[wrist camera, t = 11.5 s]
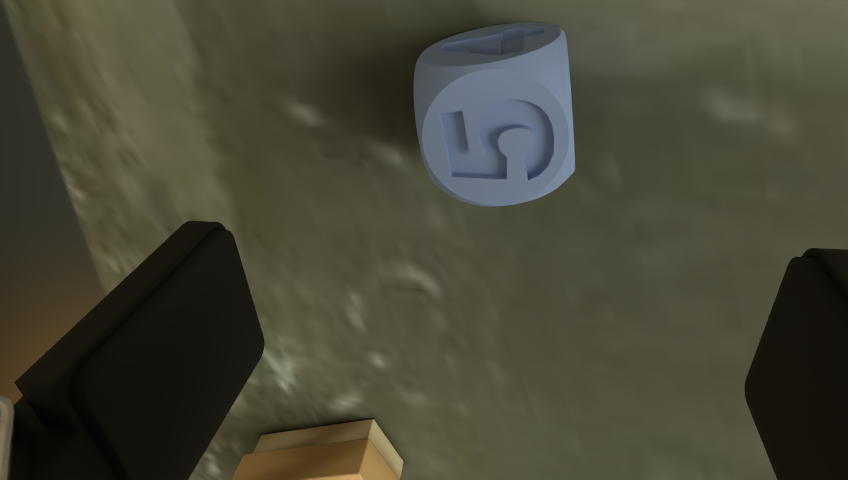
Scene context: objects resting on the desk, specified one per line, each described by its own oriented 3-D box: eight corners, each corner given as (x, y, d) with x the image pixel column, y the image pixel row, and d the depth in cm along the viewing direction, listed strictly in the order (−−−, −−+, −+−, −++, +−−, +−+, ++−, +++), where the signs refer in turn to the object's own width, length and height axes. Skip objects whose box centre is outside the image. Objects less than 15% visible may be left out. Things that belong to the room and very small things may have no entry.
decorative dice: (429, 35, 17) (403, 77, 13) (562, 13, 16) (569, 51, 12) (451, 153, 19) (433, 213, 16) (569, 140, 18) (577, 201, 15)
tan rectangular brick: (376, 414, 28) (358, 474, 25) (411, 464, 30) (398, 525, 27) (254, 432, 31) (226, 487, 28) (293, 476, 33) (271, 533, 30)
